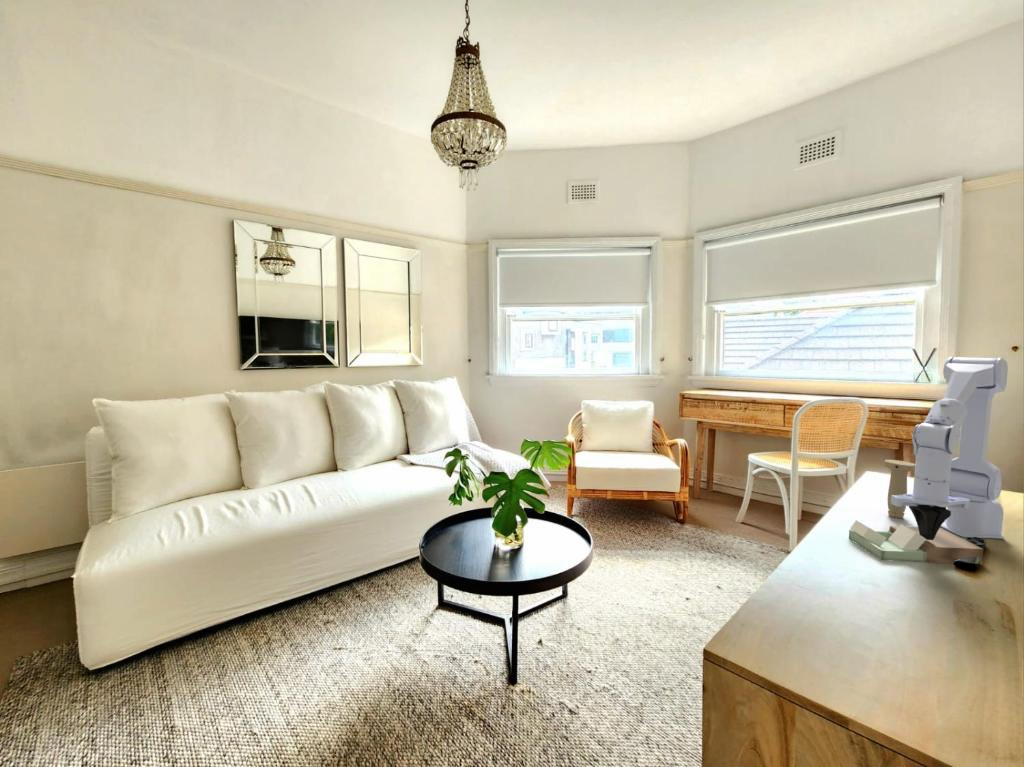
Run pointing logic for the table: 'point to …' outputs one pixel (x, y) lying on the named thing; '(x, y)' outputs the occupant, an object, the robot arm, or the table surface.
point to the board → (946, 547)
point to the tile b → (906, 539)
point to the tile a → (868, 533)
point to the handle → (897, 484)
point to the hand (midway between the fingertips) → (926, 538)
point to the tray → (888, 548)
